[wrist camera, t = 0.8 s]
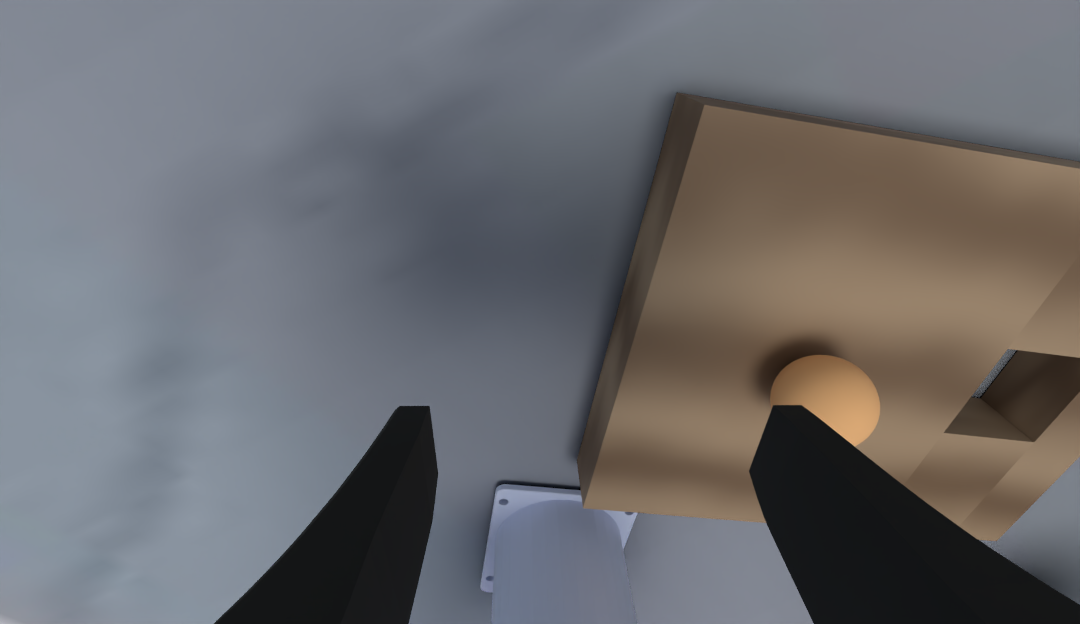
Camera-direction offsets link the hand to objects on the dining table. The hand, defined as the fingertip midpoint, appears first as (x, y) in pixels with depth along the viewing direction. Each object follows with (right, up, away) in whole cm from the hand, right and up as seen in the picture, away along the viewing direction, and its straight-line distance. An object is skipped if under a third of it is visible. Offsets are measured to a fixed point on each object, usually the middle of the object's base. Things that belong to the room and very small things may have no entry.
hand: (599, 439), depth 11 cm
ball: (+9, -1, +8) cm, 12 cm away
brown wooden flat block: (+13, +1, +12) cm, 18 cm away
